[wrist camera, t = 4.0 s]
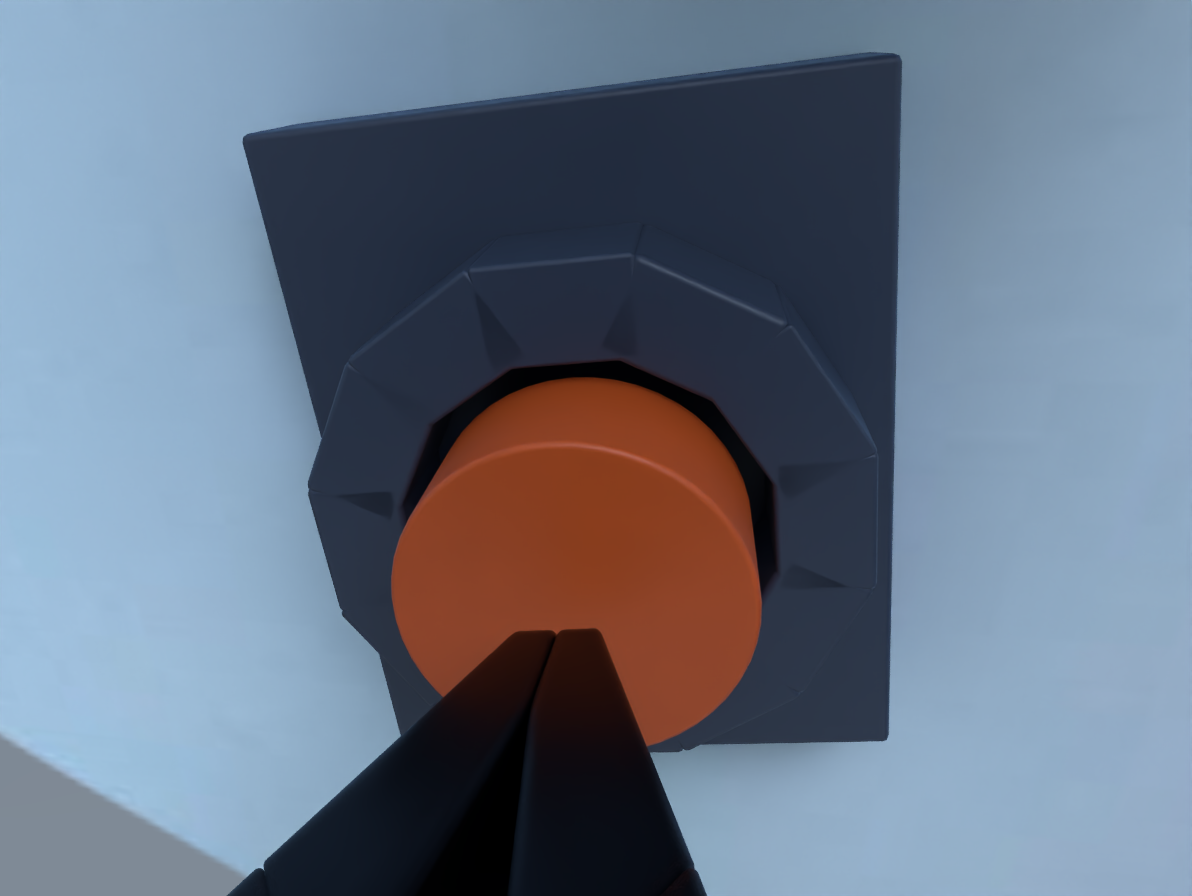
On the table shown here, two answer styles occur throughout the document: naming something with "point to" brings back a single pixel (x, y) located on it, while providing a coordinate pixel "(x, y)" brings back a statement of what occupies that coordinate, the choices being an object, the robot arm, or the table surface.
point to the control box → (619, 330)
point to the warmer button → (587, 546)
